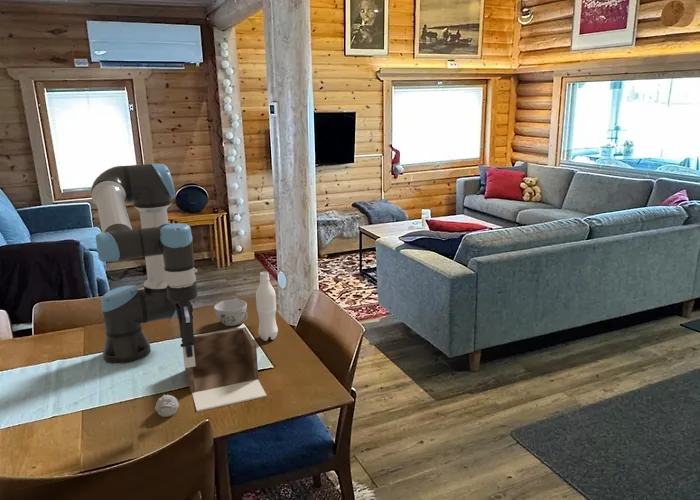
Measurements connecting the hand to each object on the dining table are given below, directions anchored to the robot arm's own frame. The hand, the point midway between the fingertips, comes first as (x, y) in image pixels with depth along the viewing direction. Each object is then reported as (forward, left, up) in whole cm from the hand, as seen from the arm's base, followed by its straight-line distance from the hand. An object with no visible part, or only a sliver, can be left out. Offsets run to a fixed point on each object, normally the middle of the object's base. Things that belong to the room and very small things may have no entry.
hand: (190, 365), depth 144 cm
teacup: (+22, +59, -14) cm, 65 cm away
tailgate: (+10, +8, -12) cm, 18 cm away
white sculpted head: (-7, 0, -14) cm, 16 cm away
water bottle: (+31, +40, -14) cm, 53 cm away
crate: (+10, +16, -14) cm, 23 cm away
